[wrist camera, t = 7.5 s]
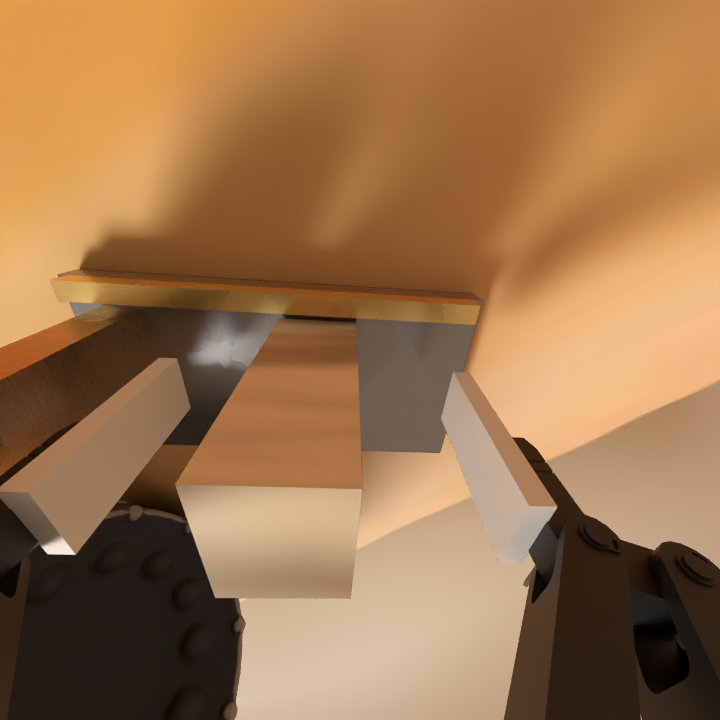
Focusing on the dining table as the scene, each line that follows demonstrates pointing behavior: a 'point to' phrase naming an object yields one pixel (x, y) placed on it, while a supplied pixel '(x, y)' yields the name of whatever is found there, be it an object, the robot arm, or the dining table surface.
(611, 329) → the dining table surface
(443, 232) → the dining table surface
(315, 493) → the block
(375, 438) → the grey board with posts
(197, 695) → the dark studded bowl
